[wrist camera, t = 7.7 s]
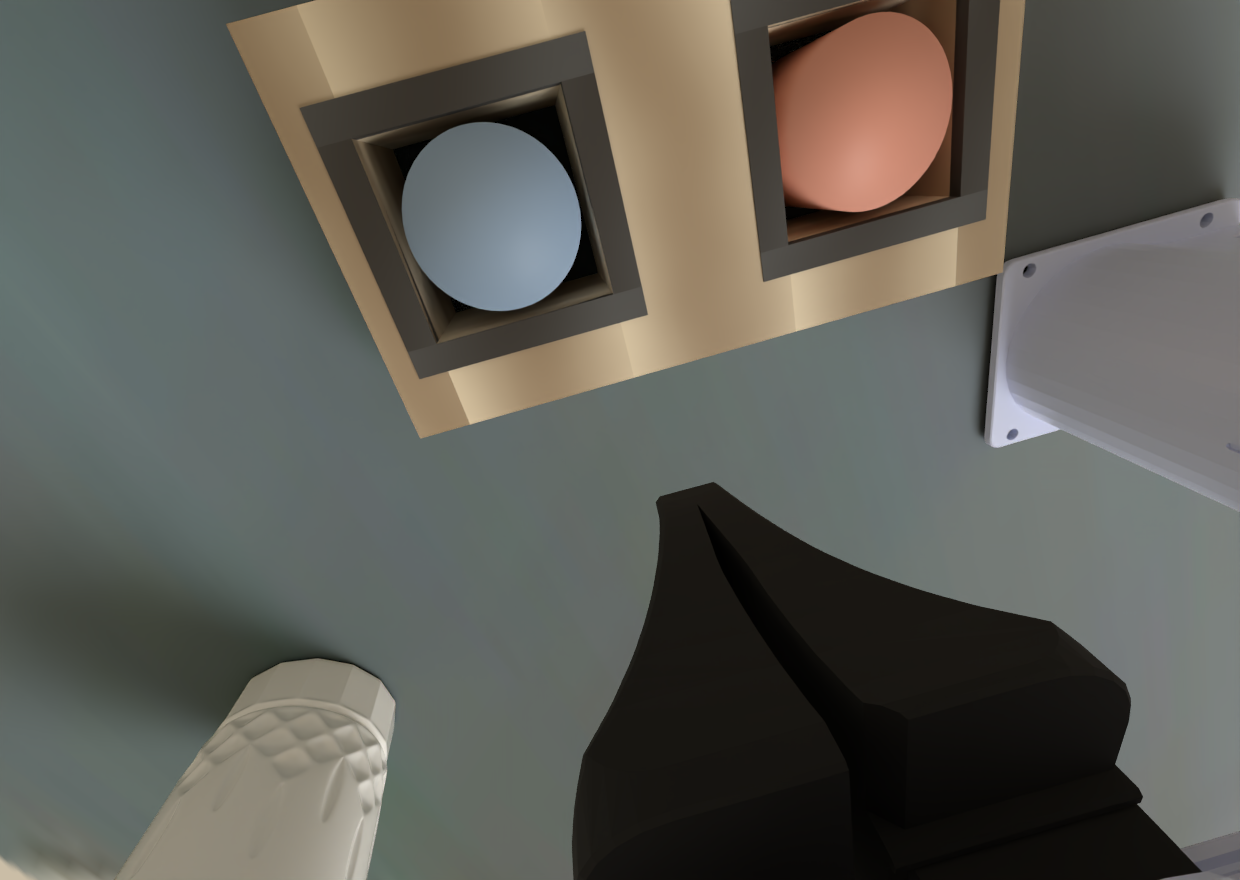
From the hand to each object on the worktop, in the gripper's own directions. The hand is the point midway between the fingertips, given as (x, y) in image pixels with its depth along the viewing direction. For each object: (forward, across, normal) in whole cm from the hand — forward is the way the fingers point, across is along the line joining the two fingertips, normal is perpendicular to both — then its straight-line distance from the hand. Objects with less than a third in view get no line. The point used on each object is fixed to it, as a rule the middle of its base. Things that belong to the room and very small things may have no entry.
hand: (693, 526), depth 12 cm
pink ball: (+9, -7, -7) cm, 14 cm away
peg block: (+9, -2, -7) cm, 12 cm away
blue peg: (+9, +3, -7) cm, 12 cm away
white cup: (+9, +17, +12) cm, 23 cm away
